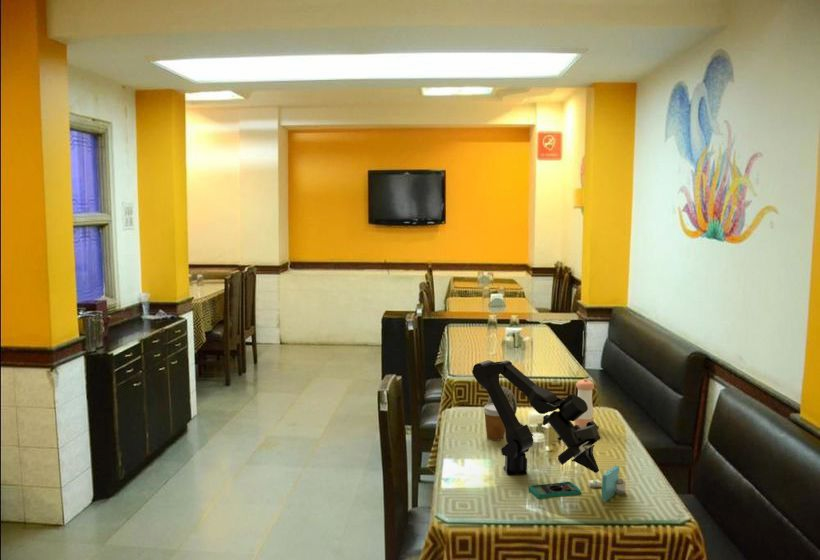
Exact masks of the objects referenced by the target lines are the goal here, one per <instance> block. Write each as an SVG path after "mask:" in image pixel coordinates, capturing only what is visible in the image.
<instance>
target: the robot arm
mask: <svg viewBox="0 0 820 560" xmlns="http://www.w3.org/2000/svg"><path fill="white" fill-rule="evenodd" d="M471 372H472V375H473V377H474V379H475V380H476V381H477V383H478V384H479V385H480V386H481V387H482V388H484V389H485V390H486V392H487V394H488V397H489V396H490V398H491V400H492V402H493V404H494V406H495V408H496V410H497V412H498V414H499V416H500V418H501V420H502V422H503V424H504V426H505V440H506V444H505V445H503V446H502V447H501V448H500V451H501V454H502V456H503V457H504V466H503V469H504V472H505V473H506V474H507V476H517V475H518V476H520V475H527V474H528V473H527V470H528V458H527V457H526V453H528V452H529V451H530V449H531V448H532V446H533V445H534V438H533V437H534V434H533V433H532V432H531V430H530V427H529V425H528V424H524V425H523V424H522V423H521V422H520V421H519V419H518V417H517V416H516V414H515V413H514V411H513V410H512V408H511V406H510V404H509V402H508V400H507V398H506V396H505V394H504V392H503V390H502V388H501V386H502V385H501V383H500V375H501V376H503V378H504V379H506V380H508V382H510V383H511V384H512V385H513V386H514V387H515V388H517V389H518V390H519V392H520V393H522V394H523V395H525V397H526V398H527V399H528V401H529V403H530V406H531V407H532V408H533V409H534V410H535V411H536V413H538V414H540V415H544V414H545V415H544V416H543V417H542V426H546V425H548V424H549V425H550V426H551V428H552V429H553V430H554V431H555V433H556V434H557V435H558V437H557V441H559V442H560V441H562V442H563V443H564V445H565V446H566V449H565V450H564V451H562V452H561V453H560V454H559V455H557V461H558V462H559V463H560V465H561V466H563V465H565V464H566V463H567V462H568V461H570V460H571V462H575V463H577V464H578V465H581V466H583V467H584V468H586V469H587V470H589V471H591V472H593V473H595V474H597V473H599V472H600V469H599V467H598V464H597V461H596V457H595V455H594V447H595V444H596V443H597V442H598V441H600V439H602V437H601V436H600V433H599V431H598V430H599V429H600V427H599V426H598V425H597V423H595V421H590V422H588V423H587V424H586V426H585V427H583V428H580V427H579V426H578V425H575V424H573V422H575V420H576V419H578V418H579V417H580V416H581V415H582V414H584V413H585V412H586V411H587V410H588V407H587V404H586V402H585V401H584V400H582V399H581V398H580V397H578V395H576V394H575V393H574V392H572V393H570V394H569V395H568V396H567V397H566V398H565V399H564V398H561V397H558V396H557V395H556V394H555V393H554V392H552V391H550V390H549V389H547V388H544V387H542V386H539V385H537V384H536V383H535V382H534V381H532V380H531V379H530V378H529V377H527V375H525V374H524V373H523V372H522V371H520V369H518V368H517V367H516V366H515V365H514V364H513V363H512V362H511V361H510V360H507V359H506V360H504V361H495V362H494V361H492V360H485V361H480V362H479V363H475V364H474V365H473V367H472V370H471ZM557 410H558V411H557ZM548 413H550V414H548ZM572 458H573V459H572Z"/></svg>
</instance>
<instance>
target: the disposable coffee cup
mask: <svg viewBox="0 0 820 560" xmlns="http://www.w3.org/2000/svg"><path fill="white" fill-rule="evenodd" d="M482 411H483V414H484V420H485V429H486V437H487V439H488V438H489V440H490V441H502V440H504V438H505V434H506V429H505V426H504V424H503V422H502V420H501V418H500V416H499V414H498V412H497V410H496V408H495V406H494V404H493V403H492V404H485V405H484V408H483V409H482ZM501 439H502V440H501Z"/></svg>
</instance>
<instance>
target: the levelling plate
mask: <svg viewBox="0 0 820 560" xmlns="http://www.w3.org/2000/svg"><path fill="white" fill-rule="evenodd" d="M587 485H588V487H589V488H602V480H601V481H600V479H588V480H587Z"/></svg>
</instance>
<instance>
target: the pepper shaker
mask: <svg viewBox="0 0 820 560" xmlns="http://www.w3.org/2000/svg"><path fill="white" fill-rule="evenodd" d="M575 386H576V388H577V396H578V397H580V398H581V399H582V400H584V401H585V402H586V404H587V407H588V410H587V411H586V412H585V413H584V414H582V415H581V416H580V417H579V418H578V419H576V420H575V421H574V426H575V425H578V426H579V427H580V428H583V427H585V426H586V424H587V423H588V422H590V421H594V416H593V415H594V407H593V406H594V405H593V390H594V388H595V383H594V382H593V381H591V380H589V379H588V378H583V379H580V380H578V381H577V382H576V384H575ZM594 422H595V421H594Z"/></svg>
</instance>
